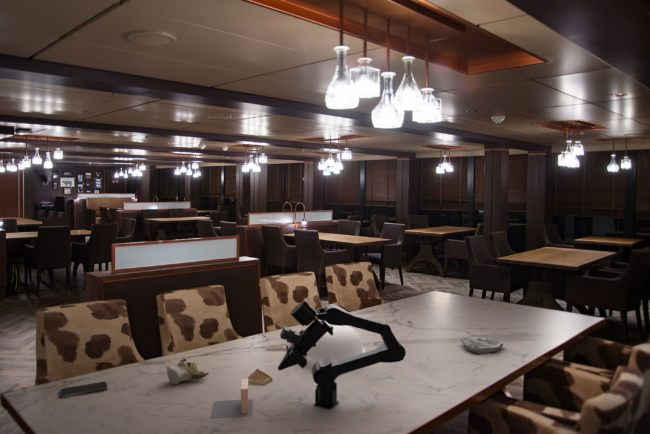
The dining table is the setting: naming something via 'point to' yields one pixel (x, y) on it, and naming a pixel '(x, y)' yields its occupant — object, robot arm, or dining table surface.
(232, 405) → the mat
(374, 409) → the dining table surface
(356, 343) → the dome cover
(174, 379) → the ceramic sculpture
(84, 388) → the phone
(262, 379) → the shard
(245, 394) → the tile
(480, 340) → the flat grey rock
